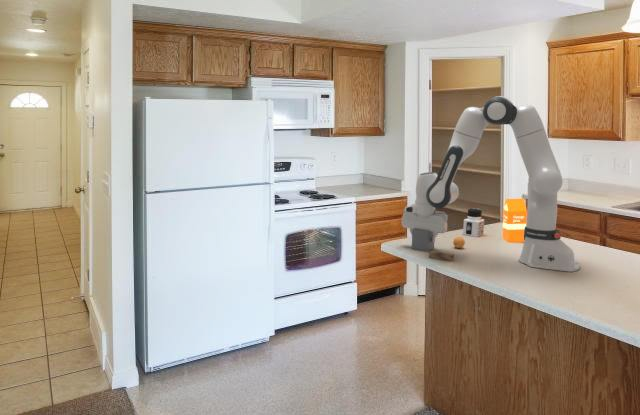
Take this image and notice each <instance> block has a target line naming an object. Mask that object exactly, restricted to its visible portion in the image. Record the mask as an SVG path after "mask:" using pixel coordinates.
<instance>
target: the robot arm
mask: <svg viewBox="0 0 640 415" xmlns="http://www.w3.org/2000/svg"><path fill="white" fill-rule="evenodd" d="M491 124H492V125H494V126H500V125H501V126H502V125H509V126H510V127H511V129H512V131H513V134H514V137H515V140H516V144H517V147H518V150H519V153H520V156H521V159H522V162H523V164H524V167H525V170H526V172H527V175H528V179H527V180H528V183H527V206H526V210H527V219H526V226H525V229H524V242H523V244H522V249H521V252H520V255H519V258H518V261H519V262H520V263H522V264H525V265H527V266H528V267H529V268H535V269H536V268H537V269H545V270H554V271H562V272H569V273H570V272H572V273H573V272H577V271H578V270H580V269H581V268H580V267H581V264H580V263H579V262H578V261H575V253H574V251H573V249H572V248H571V247H570V246H568V244H566V243H565V242H564V241H563V240H561V236H562V231H561V230H560V231H559V230H558V229H557V228H556V227H557V218H558V192H559V191H560V190H561V188H562V186H563V177H562V172H561V170H560V168H559V165H558V162H557V160H556V157H555V155H554V152H553V150H552V148H551V144H550V141H549V138H548V135H547V132H546V128H545V125H544V123H543V120H542V119H541V116H540V113H539V112H538V111H537V109H536V107H535V106H533V105H531V104H523V105H520V106H517V105H514V104H513V102H512V101H511V100H510V99H509V98H508V97H506V96H502V95H497V96H493V97H492V98H490V99H488V100H487V101H486V102H485V104H484V105H483V107H476V106H468V107H466V108H465V109H464V110H463V111H462V113H461V115H460V117H459V119H458V121H457V122H456V125H455V128H454V130H453V133H452V137H451V140H450V143H449V146H448V149H447V152H446V155H445V157H444V159H443V162H442V164H441V167H440V169H439V171H438V174H437V172H434V171H430V172H429V171H428V172H424V173H420V174H419V175H418V176H417V179H416V186H415V194H416V195H415V197H416V198H415V200H414V204H411V205H408V206H405V207H404V209H403V210H404V212H403V214H402V218H401V226H402V227H403V229H404V228H405V229H409V232H410V234H411V235H412V231H413V229H421V230H428V231H430V232H433V234H435V235H434V236H433V237H432V238H431V240H430V241H431V242H434V243H436V238H437V236H438V235H439V234H445V233H447V231H448V217H449V215H448V214H447V213H446V212H445V211H443V210H442V211H439V210H436V209H443V208H445V207H447V205H450V204H452V203H454V202H455V201H457V199H458V198H459V196H460V188H459V186H458V185H457V184H456V183H455V182H453V181H454V178H455V176H456V175H457V171H458V169H459V167H460V166H461V165H462V163H463V162H464V161H465V160H466V159H467V158H469V157H470V156H472V155H473V154H474V152H476V150H477V148H478V146H479V144H480V141H481V139H482V136H483V134H484V131H485V129H486V127H488V126H489V125H491Z"/></svg>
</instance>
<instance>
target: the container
mask: <svg viewBox="0 0 640 415" xmlns="http://www.w3.org/2000/svg"><path fill="white" fill-rule="evenodd" d="M482 214H483V213H482V210H481V209H480V208H476V207H475V208H468V209H467V215H466V216H467V218H464V219H463V226H462V228H463V229H462V236H469V237H474V238H479V237H481V236H483V235H484V231H485V230H484V228H485V219H483V218H482Z"/></svg>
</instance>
